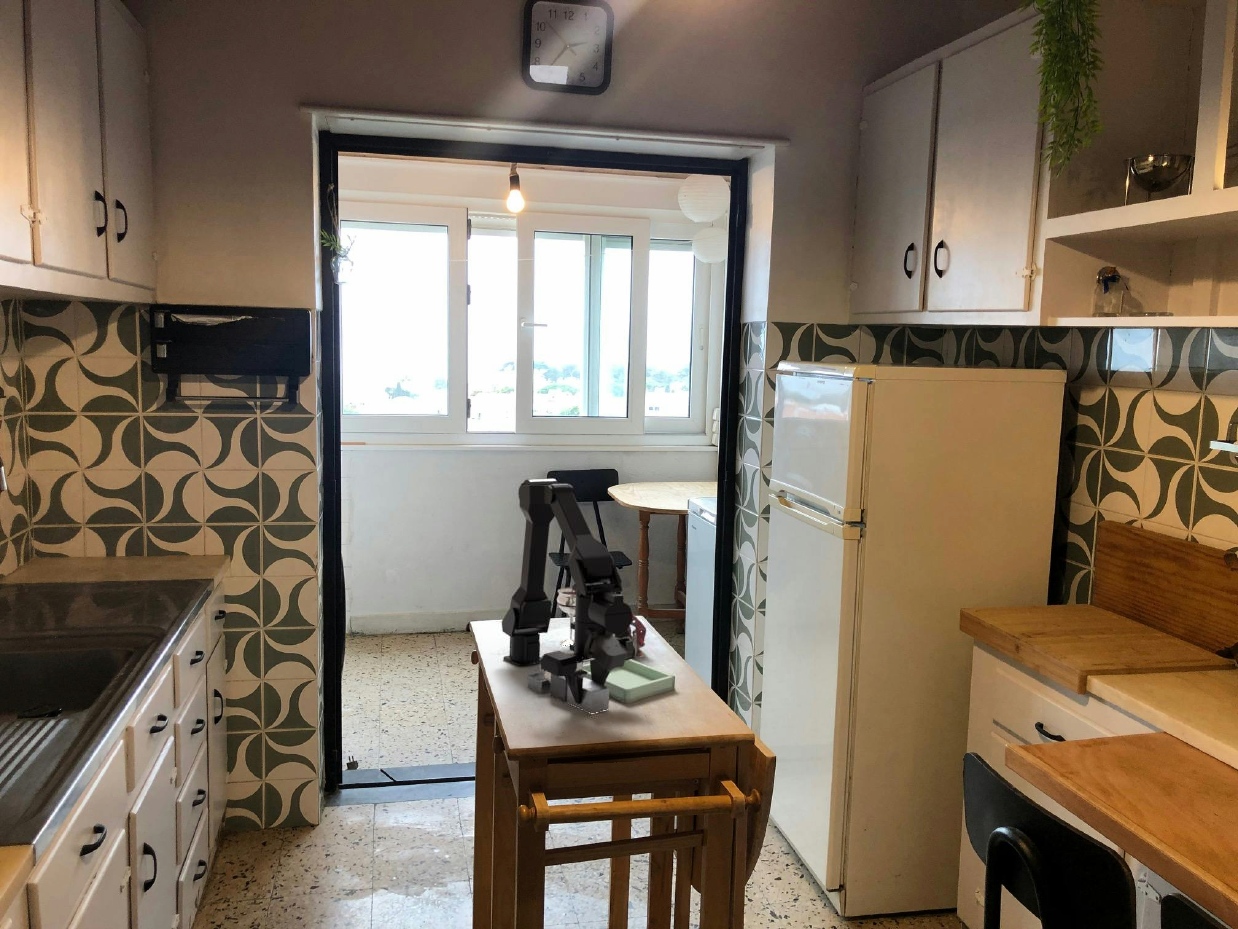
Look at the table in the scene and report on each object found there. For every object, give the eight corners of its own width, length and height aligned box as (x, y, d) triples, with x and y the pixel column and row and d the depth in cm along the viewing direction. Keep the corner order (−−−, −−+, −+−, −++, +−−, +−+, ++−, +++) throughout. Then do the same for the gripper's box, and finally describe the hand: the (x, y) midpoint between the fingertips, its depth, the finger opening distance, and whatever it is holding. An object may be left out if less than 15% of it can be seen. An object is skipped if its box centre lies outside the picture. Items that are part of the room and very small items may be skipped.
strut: (550, 695, 182) (550, 673, 181) (568, 691, 185) (569, 668, 184) (591, 715, 173) (591, 691, 172) (609, 709, 176) (610, 686, 175)
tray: (572, 679, 191) (573, 667, 191) (620, 667, 200) (621, 655, 199) (626, 703, 179) (626, 689, 179) (674, 689, 188) (675, 676, 188)
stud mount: (527, 687, 186) (528, 667, 185) (551, 681, 190) (552, 661, 189) (543, 695, 182) (544, 674, 181) (568, 688, 186) (568, 668, 185)
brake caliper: (602, 653, 201) (596, 600, 207) (592, 670, 210) (586, 619, 216) (654, 651, 204) (647, 599, 210) (641, 668, 213) (635, 618, 219)
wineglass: (589, 646, 213) (591, 594, 211) (559, 648, 211) (561, 595, 209) (581, 638, 219) (582, 587, 218) (552, 639, 217) (554, 588, 216)
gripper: (579, 638, 163) (576, 726, 165) (657, 621, 175) (653, 703, 177) (539, 623, 171) (537, 706, 173) (616, 608, 184) (613, 686, 185)
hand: (587, 701), depth 177 cm, fingers closed on strut, 4 cm apart
